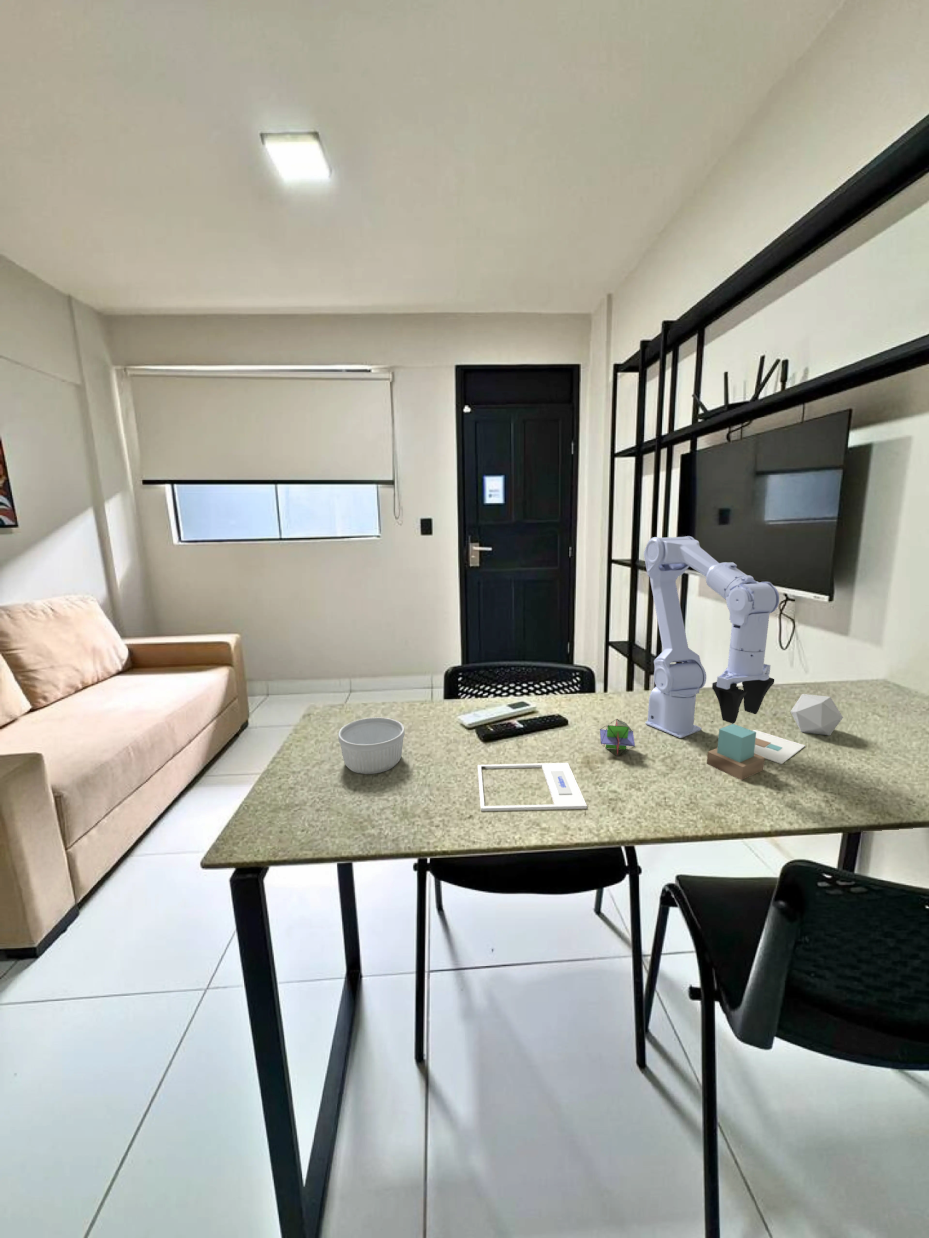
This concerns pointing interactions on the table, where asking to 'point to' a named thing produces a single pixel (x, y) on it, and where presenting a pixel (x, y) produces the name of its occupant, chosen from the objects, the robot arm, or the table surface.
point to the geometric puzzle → (617, 736)
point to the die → (816, 714)
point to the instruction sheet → (775, 747)
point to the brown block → (736, 764)
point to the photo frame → (558, 783)
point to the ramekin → (371, 744)
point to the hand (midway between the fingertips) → (739, 716)
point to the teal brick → (736, 742)
